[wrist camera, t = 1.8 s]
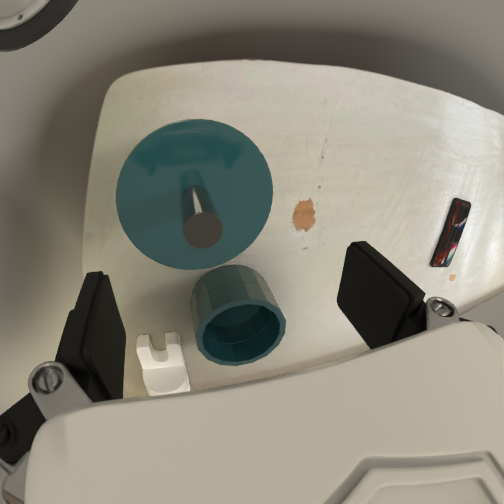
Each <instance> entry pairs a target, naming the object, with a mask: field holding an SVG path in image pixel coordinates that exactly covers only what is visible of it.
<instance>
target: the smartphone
mask: <svg viewBox="0 0 504 504" xmlns="http://www.w3.org/2000/svg"><path fill="white" fill-rule="evenodd" d="M470 208H471V203H470V202H467V201H464V200H461V199H458V198H455V199H454V200H453V202H452V205H451V209H450V212H449V215H448V218H447V221H446V224H445V227H444V230H443V233H442V235H441V238H440V241H439V244H438V246H437V249H436V251H435V254H434V257H433V259H432V262H431V266H432V267H448V266H449V265H450V263H451V261H452V258H453V256H454V253H455V251H456V248H457V246H458V243H459V240H460V238H461V235H462V232H463V229H464V226H465V224H466V221H467V218H468V215H469V211H470Z"/></svg>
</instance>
